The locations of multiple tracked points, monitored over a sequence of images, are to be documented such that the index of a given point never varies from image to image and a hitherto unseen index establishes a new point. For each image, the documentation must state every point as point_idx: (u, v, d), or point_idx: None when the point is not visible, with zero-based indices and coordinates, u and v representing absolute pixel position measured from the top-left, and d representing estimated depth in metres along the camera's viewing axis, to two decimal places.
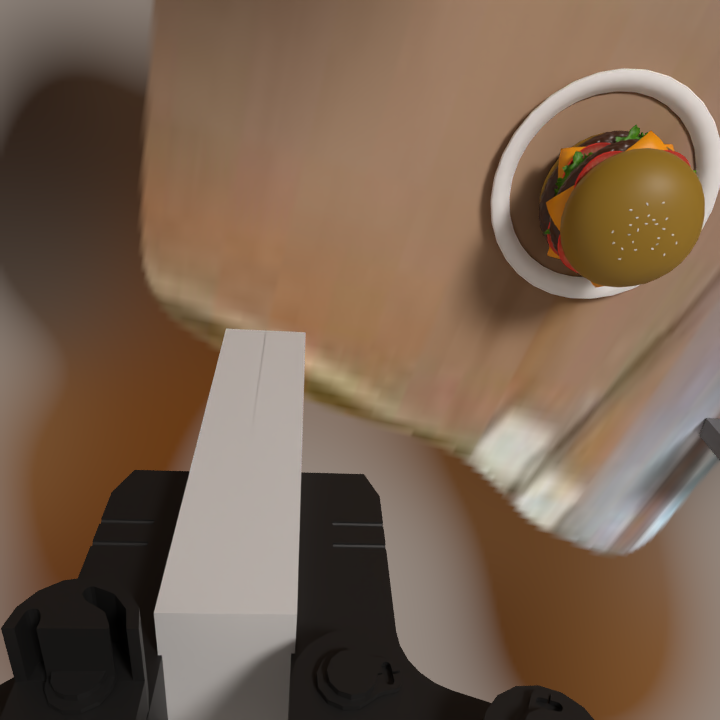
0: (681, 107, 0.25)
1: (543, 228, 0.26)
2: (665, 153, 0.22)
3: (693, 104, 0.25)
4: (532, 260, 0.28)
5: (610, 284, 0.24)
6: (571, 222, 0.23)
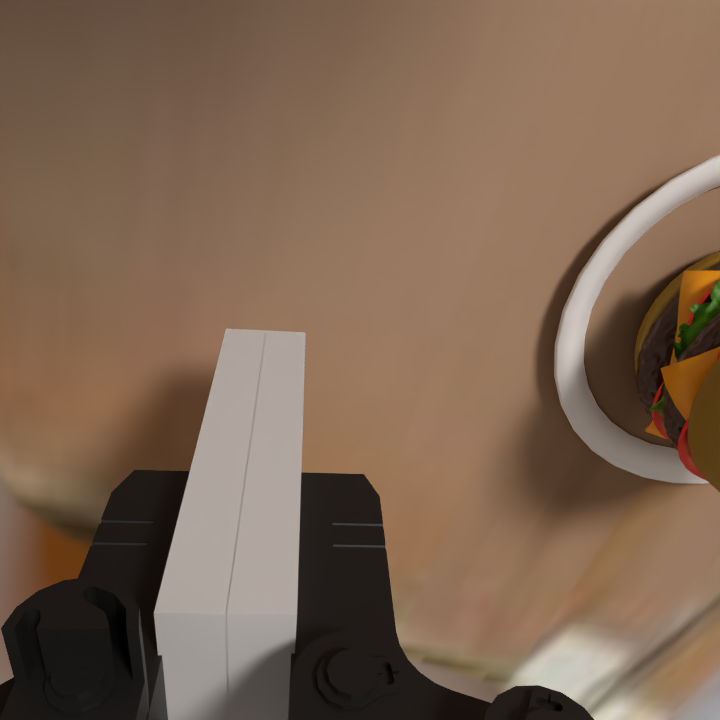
0: None
1: (643, 394, 0.15)
2: None
3: None
4: (614, 428, 0.17)
5: None
6: (716, 418, 0.13)
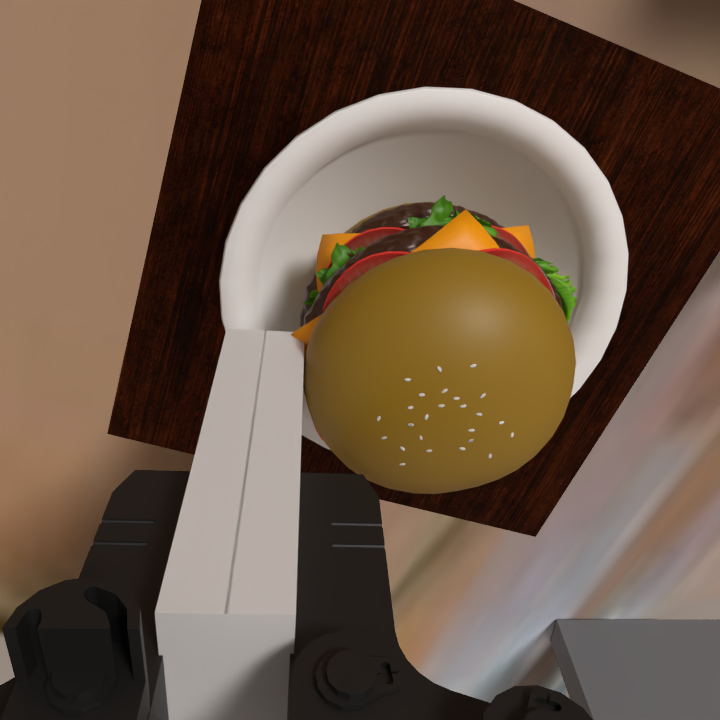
0: (546, 156, 0.14)
1: None
2: (483, 260, 0.11)
3: (566, 151, 0.13)
4: None
5: None
6: (312, 389, 0.12)
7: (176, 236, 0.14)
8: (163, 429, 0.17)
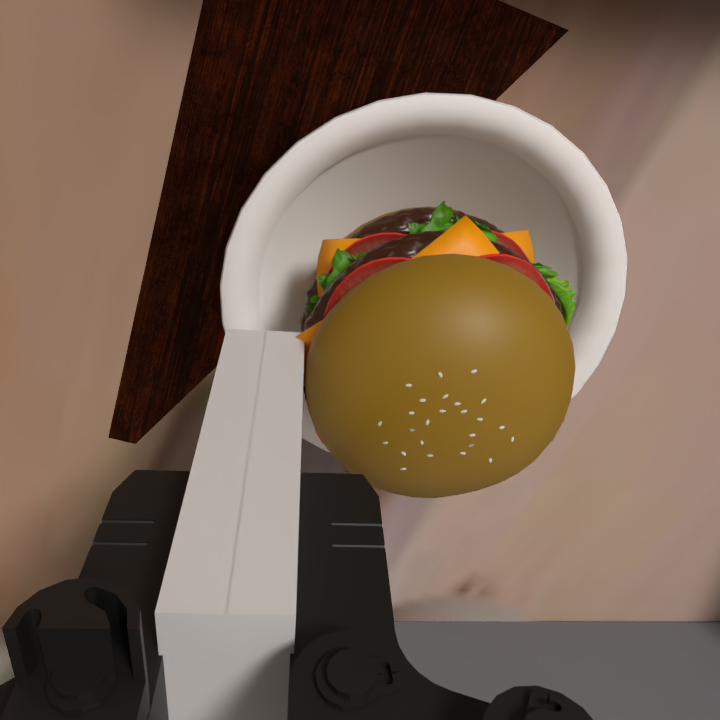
0: (545, 161, 0.14)
1: None
2: (483, 266, 0.11)
3: (565, 156, 0.13)
4: None
5: None
6: (313, 394, 0.12)
7: (176, 240, 0.14)
8: None
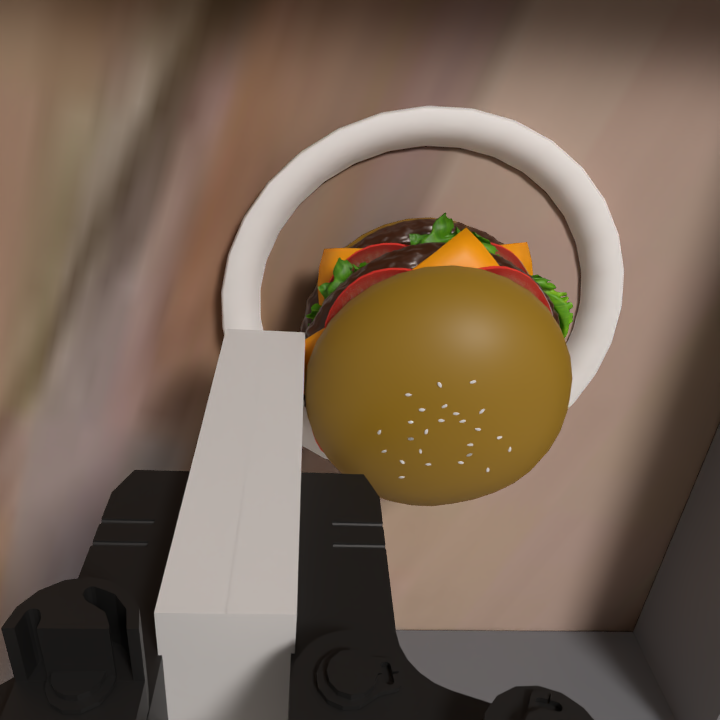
0: (545, 174, 0.14)
1: None
2: (483, 278, 0.11)
3: (564, 170, 0.14)
4: None
5: (405, 503, 0.13)
6: (313, 402, 0.12)
7: None
8: None
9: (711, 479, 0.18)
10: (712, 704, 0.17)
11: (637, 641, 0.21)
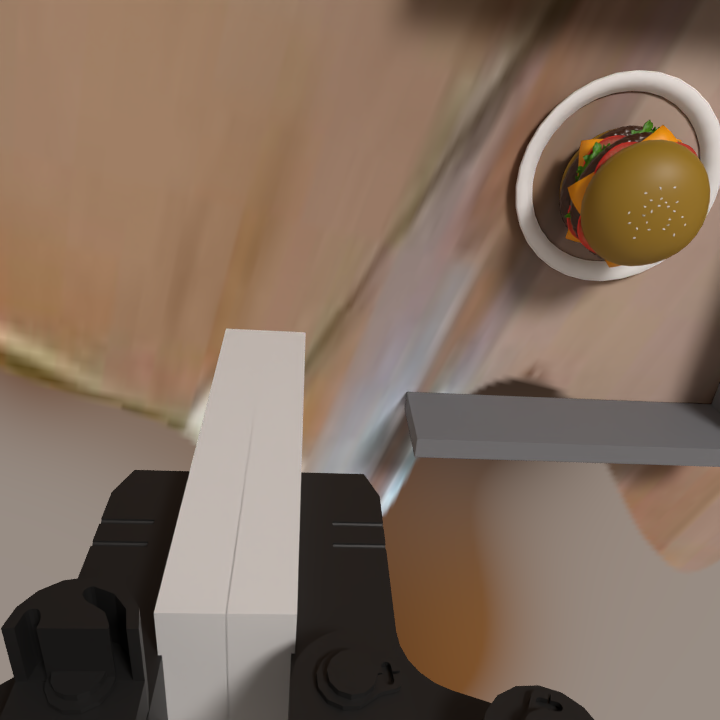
0: (688, 107, 0.28)
1: (563, 213, 0.28)
2: (676, 144, 0.25)
3: (699, 104, 0.27)
4: (550, 244, 0.30)
5: (624, 262, 0.27)
6: (591, 204, 0.26)
7: None
8: None
9: None
10: None
11: (714, 407, 0.35)
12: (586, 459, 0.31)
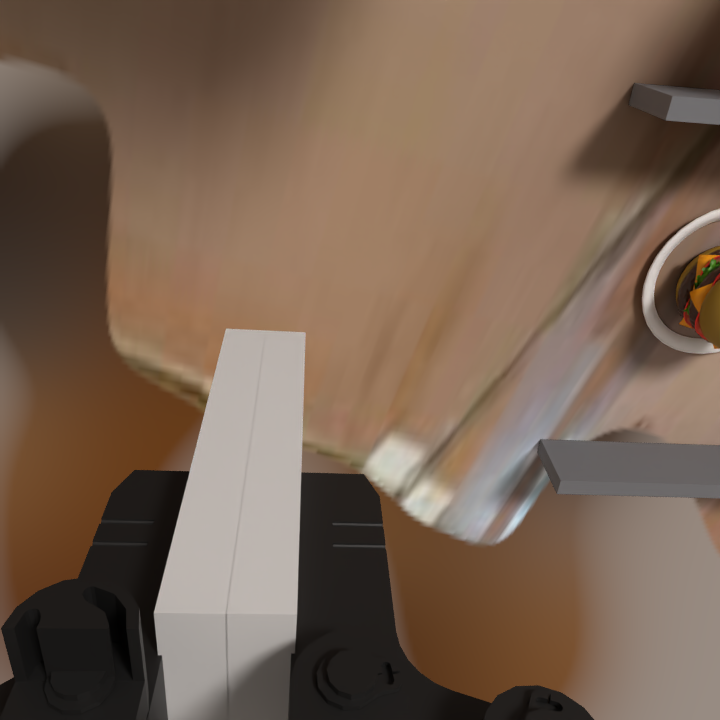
0: None
1: (680, 306, 0.37)
2: None
3: None
4: (664, 325, 0.39)
5: None
6: (710, 308, 0.34)
7: None
8: None
9: None
10: None
11: None
12: (688, 495, 0.40)
